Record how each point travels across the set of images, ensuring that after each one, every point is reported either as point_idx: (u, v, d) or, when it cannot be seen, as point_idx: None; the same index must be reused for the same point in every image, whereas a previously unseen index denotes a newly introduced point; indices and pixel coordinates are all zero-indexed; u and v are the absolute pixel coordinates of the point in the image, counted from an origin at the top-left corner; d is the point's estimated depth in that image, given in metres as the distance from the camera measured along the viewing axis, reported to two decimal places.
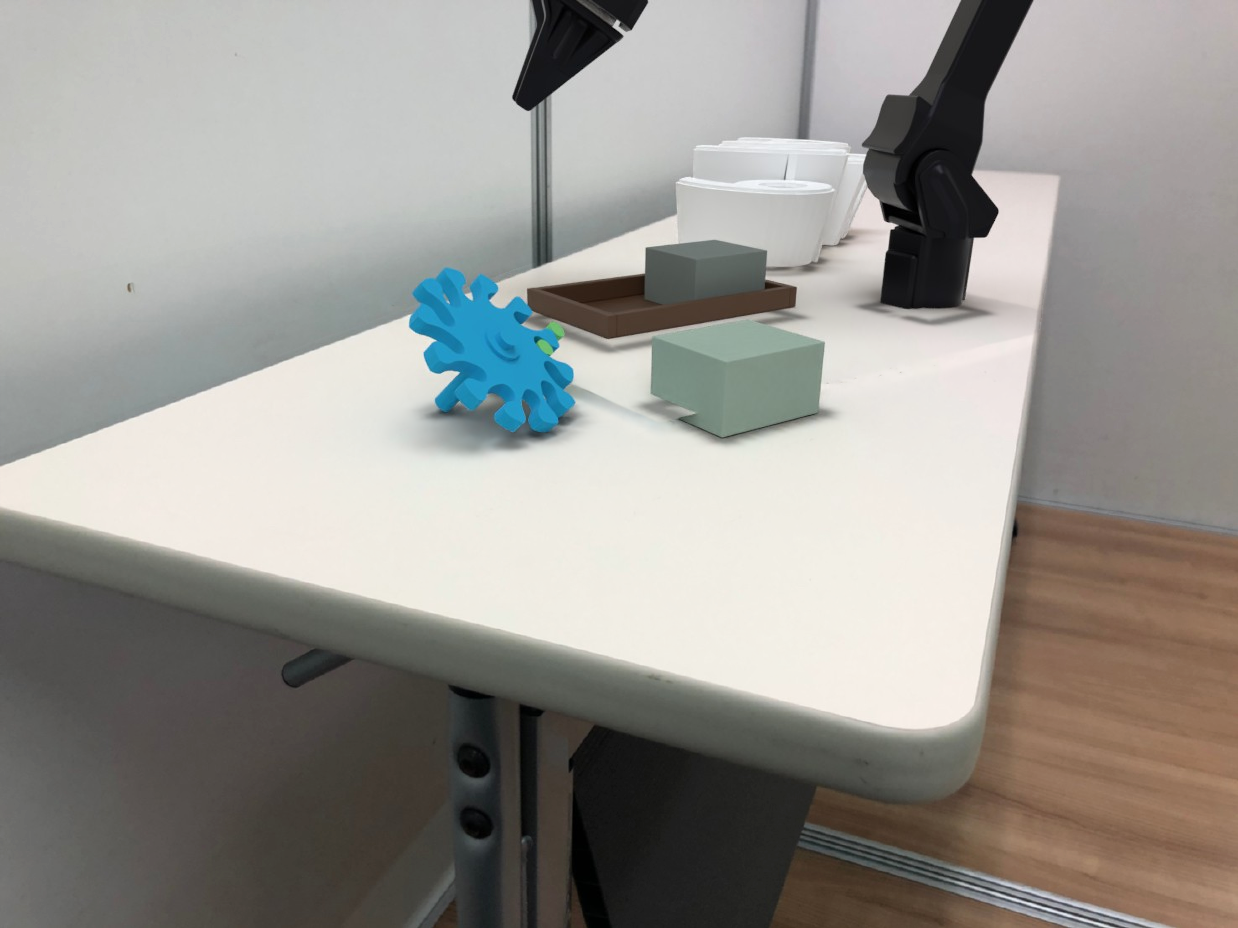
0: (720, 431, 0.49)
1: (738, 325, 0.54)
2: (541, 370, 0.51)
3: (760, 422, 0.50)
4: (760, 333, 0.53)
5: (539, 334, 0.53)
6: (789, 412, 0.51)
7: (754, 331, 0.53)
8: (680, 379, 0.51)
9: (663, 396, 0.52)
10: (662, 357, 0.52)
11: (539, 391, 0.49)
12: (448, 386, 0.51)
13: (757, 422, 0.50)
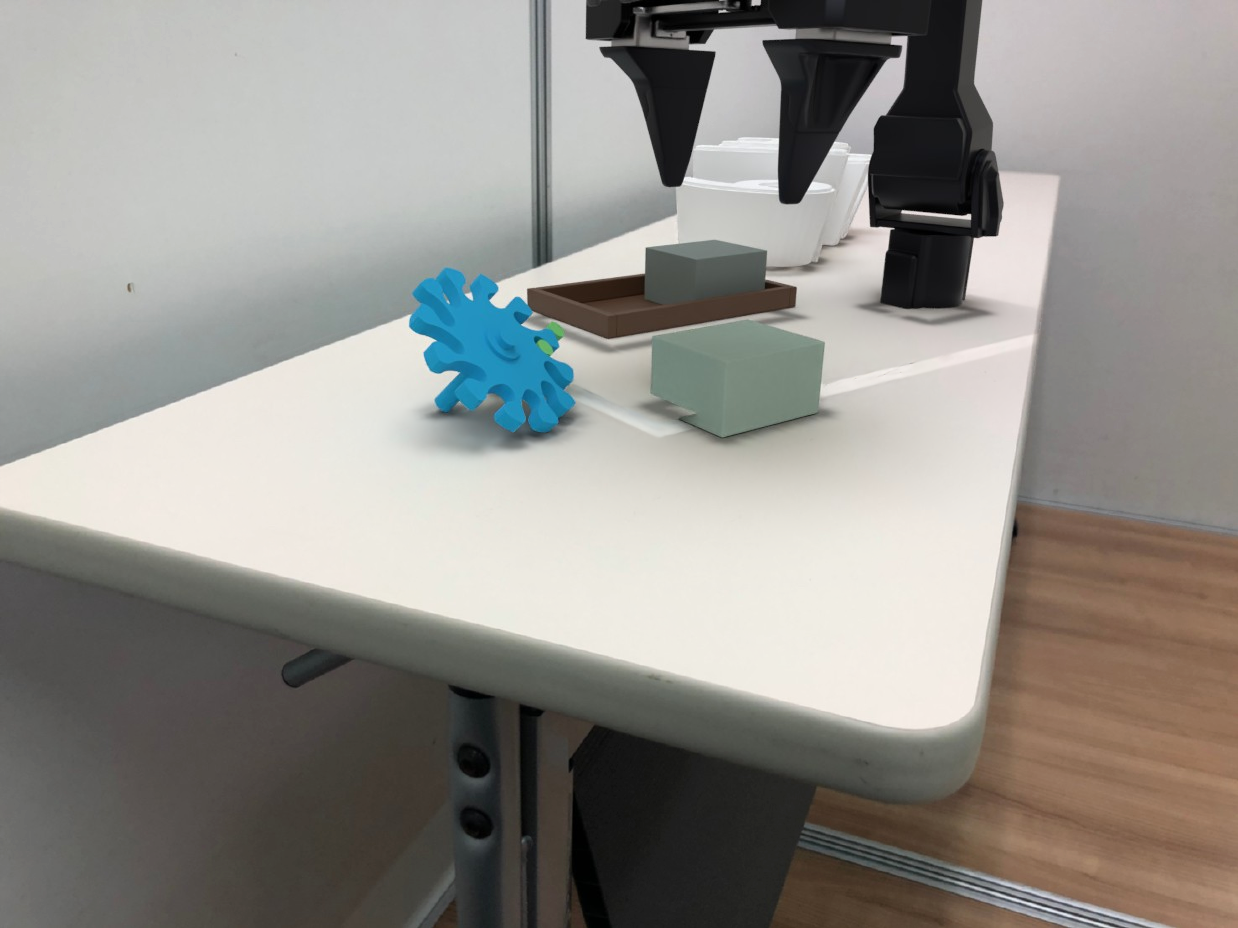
0: (720, 431, 0.49)
1: (738, 325, 0.54)
2: (541, 370, 0.51)
3: (760, 422, 0.50)
4: (760, 333, 0.53)
5: (539, 334, 0.53)
6: (789, 412, 0.51)
7: (754, 331, 0.53)
8: (680, 379, 0.51)
9: (663, 396, 0.52)
10: (662, 357, 0.52)
11: (539, 391, 0.49)
12: (448, 386, 0.51)
13: (757, 422, 0.50)
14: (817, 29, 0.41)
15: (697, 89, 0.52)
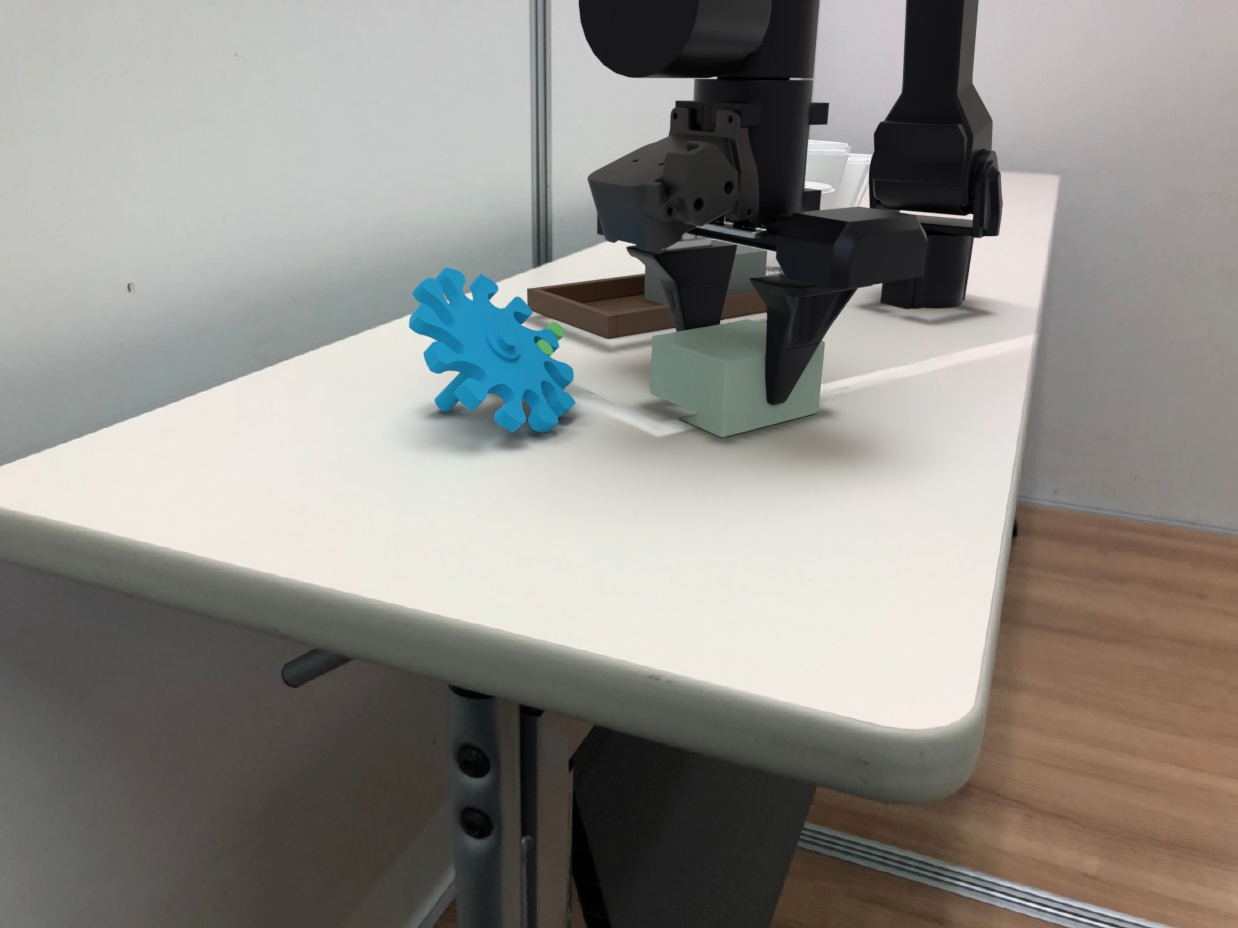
0: (720, 431, 0.49)
1: (738, 325, 0.54)
2: (541, 370, 0.51)
3: (760, 422, 0.50)
4: (760, 333, 0.53)
5: (539, 334, 0.53)
6: (789, 412, 0.51)
7: (754, 331, 0.53)
8: (680, 379, 0.51)
9: (663, 396, 0.52)
10: (662, 357, 0.52)
11: (539, 391, 0.49)
12: (448, 386, 0.51)
13: (757, 422, 0.50)
14: None
15: (721, 282, 0.54)
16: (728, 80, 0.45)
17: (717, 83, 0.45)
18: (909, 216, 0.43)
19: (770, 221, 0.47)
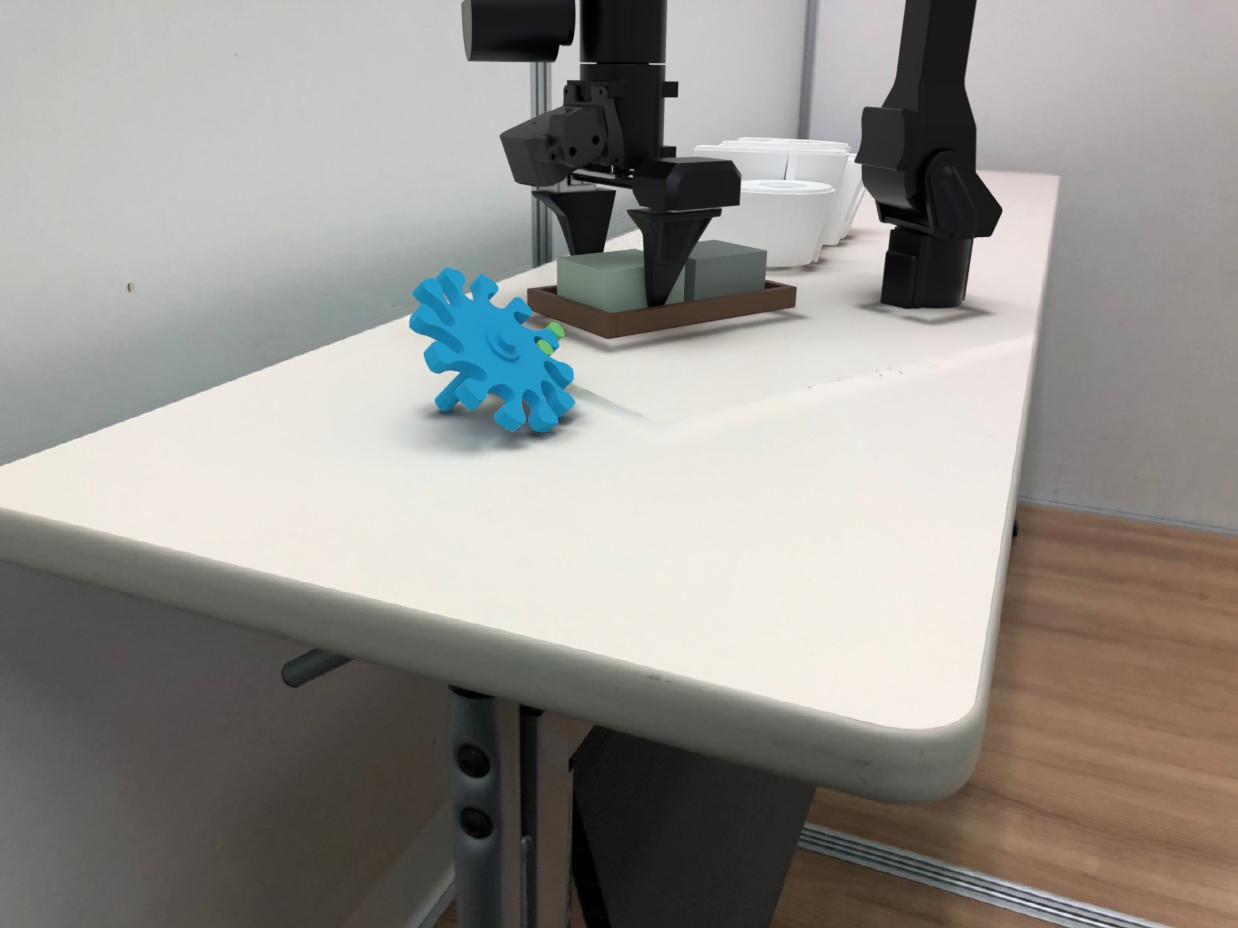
0: None
1: (625, 252, 0.71)
2: (541, 370, 0.51)
3: None
4: (639, 256, 0.70)
5: (539, 334, 0.53)
6: None
7: (635, 255, 0.70)
8: (575, 288, 0.68)
9: None
10: (563, 273, 0.69)
11: (539, 391, 0.49)
12: (448, 386, 0.51)
13: None
14: None
15: (603, 218, 0.72)
16: (600, 64, 0.62)
17: (593, 66, 0.62)
18: (726, 161, 0.60)
19: (634, 168, 0.64)
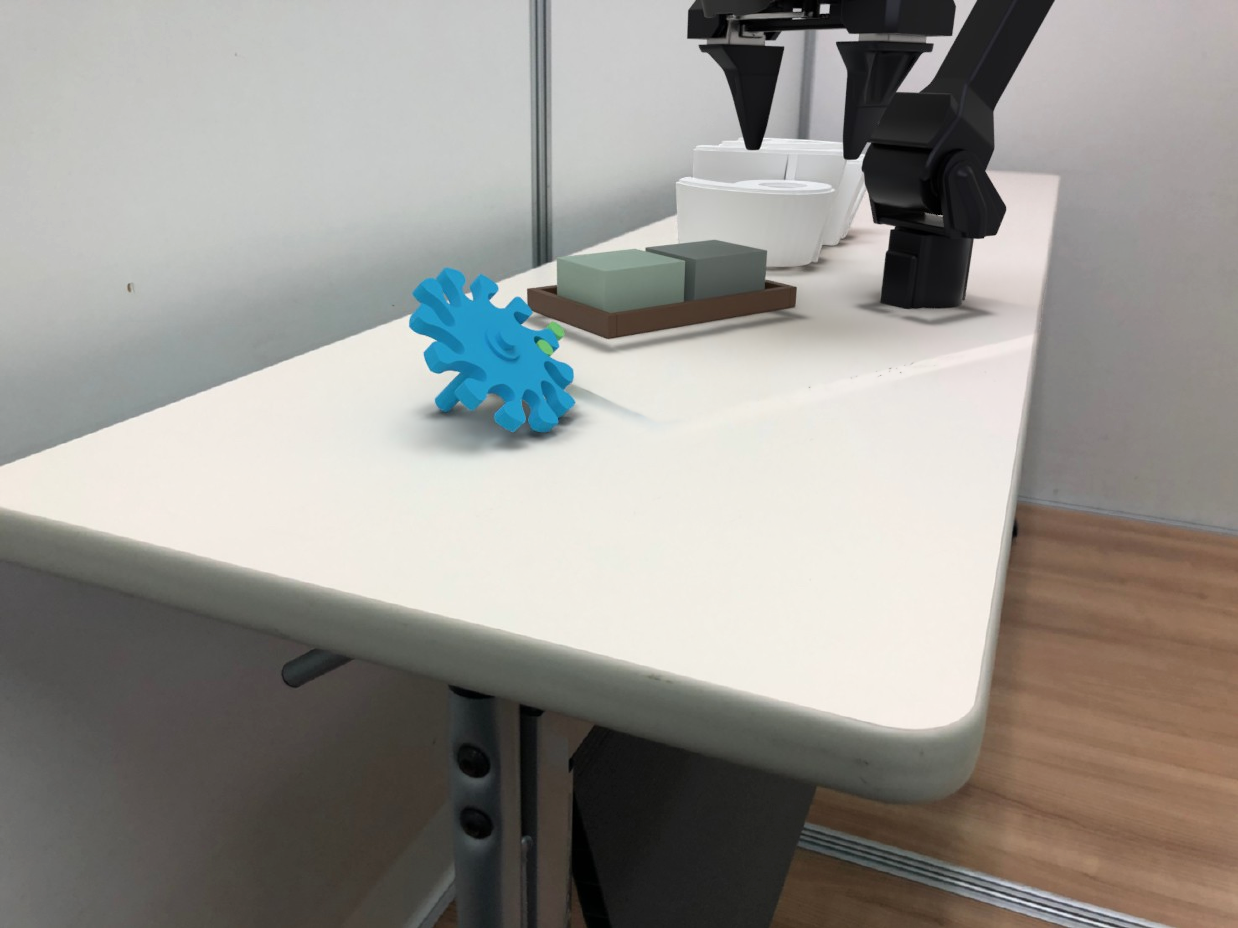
0: None
1: (625, 252, 0.71)
2: (541, 370, 0.51)
3: None
4: (639, 256, 0.70)
5: (539, 334, 0.53)
6: None
7: (635, 255, 0.70)
8: (575, 288, 0.68)
9: None
10: (563, 273, 0.69)
11: (539, 391, 0.49)
12: (448, 386, 0.51)
13: None
14: (875, 33, 0.58)
15: (771, 75, 0.69)
16: None
17: None
18: None
19: (833, 2, 0.60)
